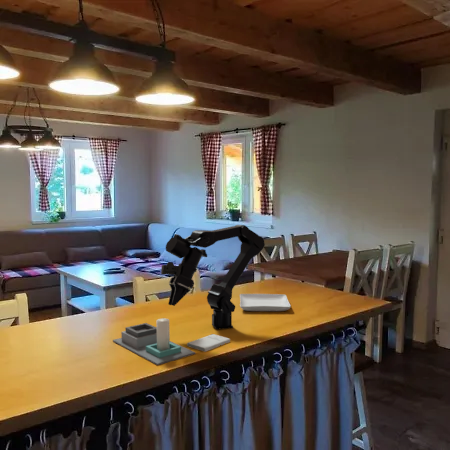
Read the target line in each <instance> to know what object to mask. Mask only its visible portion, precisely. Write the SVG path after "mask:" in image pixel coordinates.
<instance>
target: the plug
mask: <svg viewBox="0 0 450 450" xmlns="http://www.w3.org/2000/svg"><path fill="white" fill-rule="evenodd" d="M155 322H156V327H157V350H159V351H164V350H167V349H170V341H171V340H170V319H169V318H165V317H164V318H158V319H156V321H155Z"/></svg>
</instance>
